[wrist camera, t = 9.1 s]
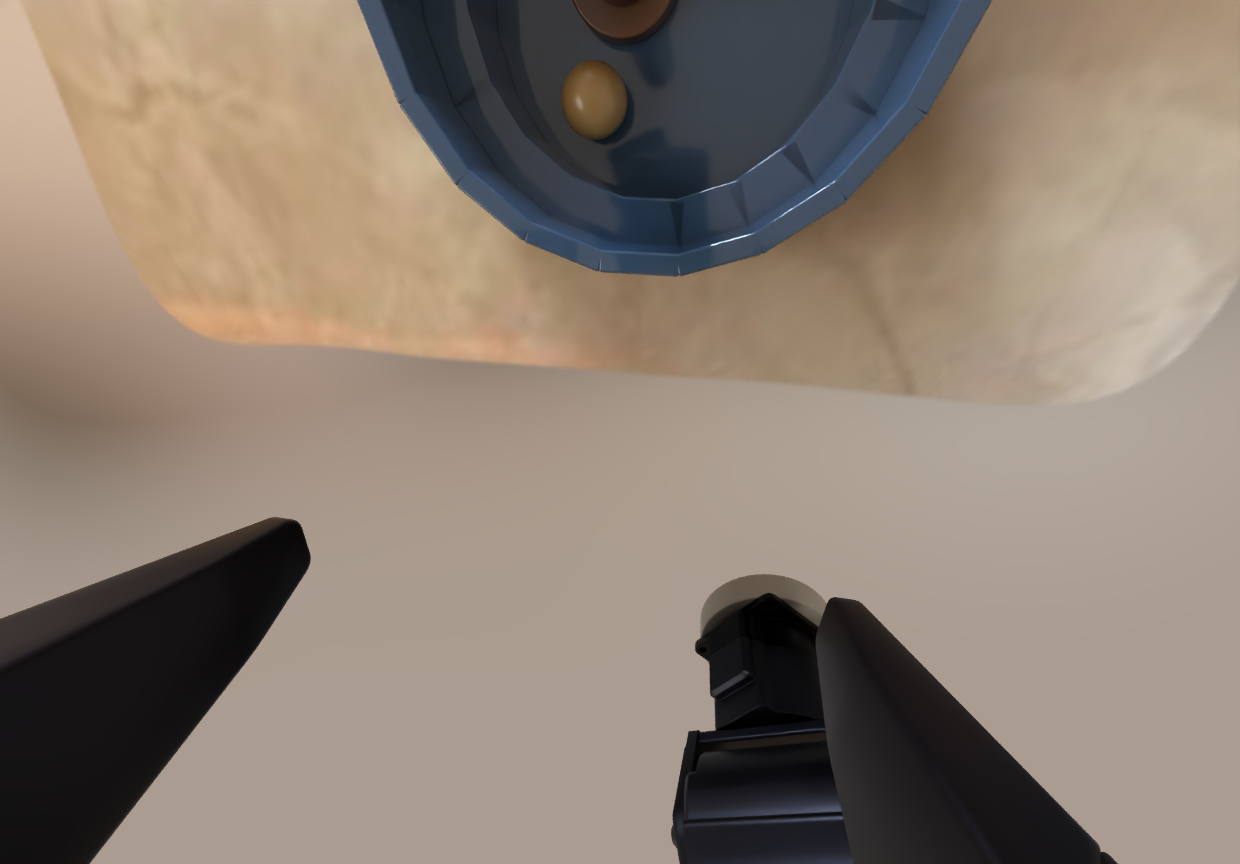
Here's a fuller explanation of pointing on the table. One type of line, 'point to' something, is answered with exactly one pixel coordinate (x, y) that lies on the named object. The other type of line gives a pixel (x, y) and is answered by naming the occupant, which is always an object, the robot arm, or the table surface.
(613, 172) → the bowl
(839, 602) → the robot arm
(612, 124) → the chickpea
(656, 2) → the pestle
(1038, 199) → the table surface
